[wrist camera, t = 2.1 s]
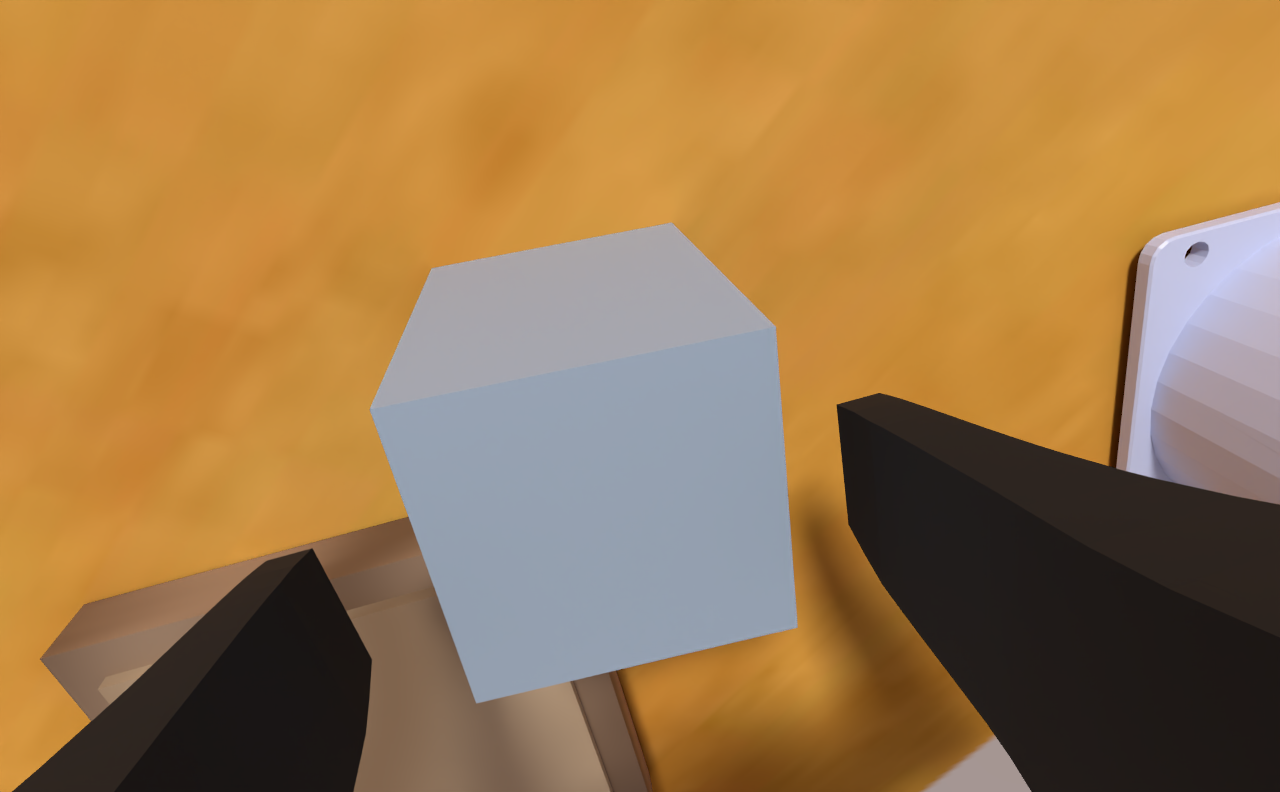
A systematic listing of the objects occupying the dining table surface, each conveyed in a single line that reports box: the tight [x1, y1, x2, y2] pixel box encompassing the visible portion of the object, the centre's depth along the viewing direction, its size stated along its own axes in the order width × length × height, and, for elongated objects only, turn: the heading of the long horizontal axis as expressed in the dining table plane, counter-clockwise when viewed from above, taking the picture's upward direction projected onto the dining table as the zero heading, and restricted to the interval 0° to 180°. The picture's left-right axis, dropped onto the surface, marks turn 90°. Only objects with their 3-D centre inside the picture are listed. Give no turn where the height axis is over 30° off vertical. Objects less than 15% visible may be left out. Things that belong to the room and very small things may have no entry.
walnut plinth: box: [40, 517, 653, 792], centre depth 16 cm, size 10×10×2 cm
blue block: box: [370, 223, 797, 703], centre depth 11 cm, size 4×4×6 cm
